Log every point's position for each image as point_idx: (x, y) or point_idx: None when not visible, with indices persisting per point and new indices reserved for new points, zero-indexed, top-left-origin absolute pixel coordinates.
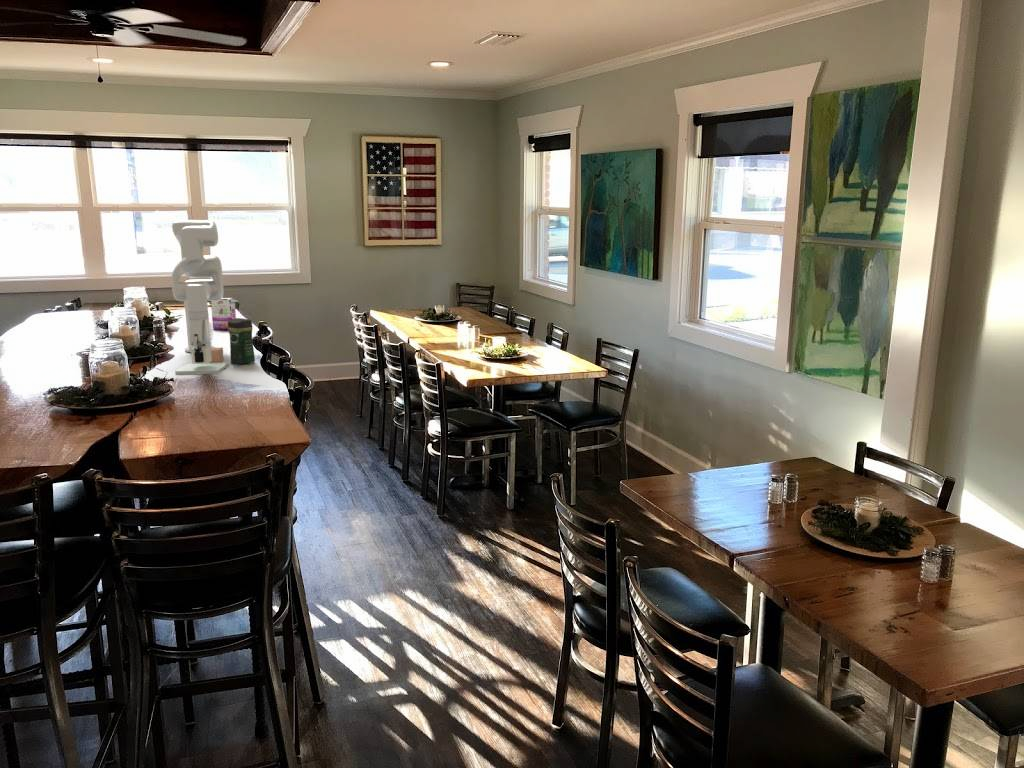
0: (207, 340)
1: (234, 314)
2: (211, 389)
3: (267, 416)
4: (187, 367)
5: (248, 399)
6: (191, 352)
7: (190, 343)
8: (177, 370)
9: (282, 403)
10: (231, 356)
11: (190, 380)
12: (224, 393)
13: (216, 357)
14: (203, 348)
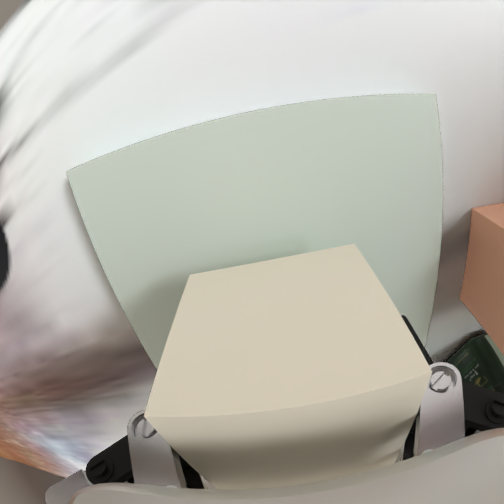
0: None
1: None
2: (10, 402)
3: (3, 449)
4: (237, 180)
5: (23, 446)
6: (159, 372)
7: (70, 501)
8: (93, 167)
9: (43, 468)
10: (474, 372)
11: (22, 327)
12: (14, 422)
13: (487, 309)
14: (220, 485)
